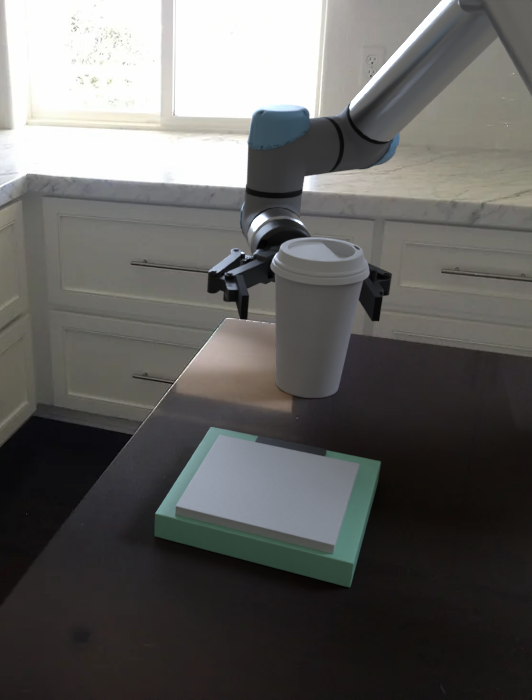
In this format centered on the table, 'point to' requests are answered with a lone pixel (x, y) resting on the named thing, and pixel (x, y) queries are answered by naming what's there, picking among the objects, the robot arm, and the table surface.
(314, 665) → the table surface
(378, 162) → the robot arm
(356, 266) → the coffee cup
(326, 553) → the kitchen scale
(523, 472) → the table surface
